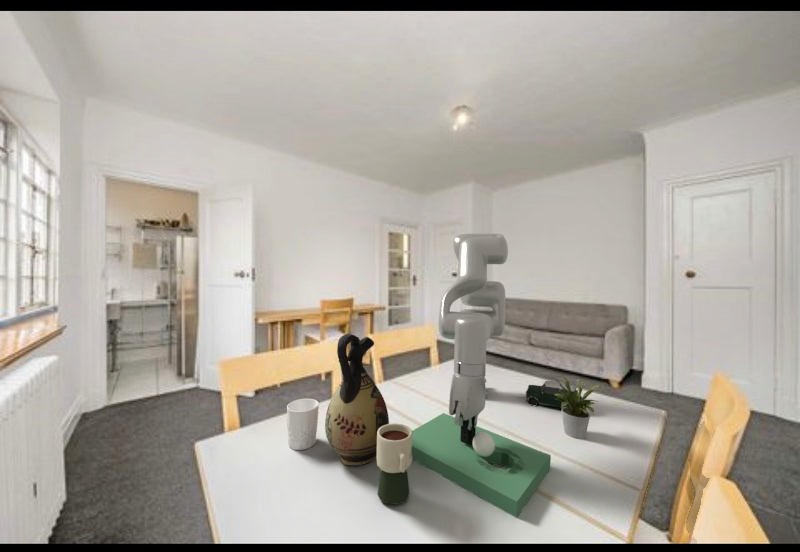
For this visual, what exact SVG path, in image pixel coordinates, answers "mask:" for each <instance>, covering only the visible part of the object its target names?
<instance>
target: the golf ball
mask: <svg viewBox="0 0 800 552" xmlns="http://www.w3.org/2000/svg"><path fill="white" fill-rule="evenodd" d="M473 448H474V450H475V451H476V453H477V454H479V455H480V456H483V457H487V456H490V455H491V454H492V453H493V452H494V449H495V443H494V440H493V438H492V437H491V436H490V435H489V434H488V433H485V432H480V433H477V434H476V435H475V436H474V438H473Z"/></svg>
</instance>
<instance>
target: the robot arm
mask: <svg viewBox="0 0 800 552" xmlns="http://www.w3.org/2000/svg"><path fill="white" fill-rule="evenodd" d="M452 243H453V250H454V251H453V252H454V255H455V257H456V259H457V261H458V265H457V266H458V268H457V279H456V281H455V282H453V283H452V284H451V285H450V286H449V287H448V288H447V289H446V290H445V292H444V293H443V295H442V298H441V301H440V306H439V313H438V315H439V316H438V332H439V334H440V336H441V338H444V339H446V340H454V347H453V349H454V353H453V354H454V357H453V359H454V361H453V375H452V379H451V382H450V383H451V384H450V389H449V390H450V391H449V401H448V403H449V404H448V415H450V416H454V415H455V416H454V417H455V421H454V424H456V425H458V426H461V438H460V440H461V442H463V443H465V444H467V445H470V446H472V445H473V438H474V436H475V435H476V428H475V427H476V426H477V425H478V416H479V415H480V414H481V412H482V411H484V409H485V407H486V397H487V396H488V391H487V389H486V383H487V382H488V380H487V379H486V369H487V368H486V366H487V365H486V364H487V341H489V339H490V337H501V336H503V334H504V332H505V327H506V326H505V325H506V323H505V322H506V320H505V319H506V289H505V286H504V284H503V283H502V282H500V281H494V280H488V265H504V264H505V263H506V262H507V259H508V255H509V248H508V242H507V240H506V238H505V236H504V235H503V234H501V233H464V234H463V233H462V234H458V235H456V236H455V237H454V239H453V242H452ZM458 299H460V300H461V303H462V304H463V305H465V306H468V307H479V308H482V307H483V308H490V309H491V310H490V309H489V310H488V309H475V308H472V309H471V308H470V309H469V308H468V309H466V308H465V309H462V310H459V311H450V309H451V307H452V305H453V303H455V302H456V301H457V300H458Z"/></svg>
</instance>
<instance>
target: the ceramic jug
mask: <svg viewBox="0 0 800 552" xmlns="http://www.w3.org/2000/svg"><path fill="white" fill-rule="evenodd" d="M348 345H350V347H349V348H350V349H349V351H347V348H348ZM374 346H375V341H374V340H373V339H372V338H370V337H368V336H365V337H363V338H361V339H360V337H359V336H356V335H355V334H351V333H345V334H344V335H341V336H340V337H339V339H338V342H337V346H336V347H337V349H336V351H337V352H336V354H337V359H338V363H339V365H340V370H341V374H342V376H343V377H342V380H341V381H340V383H339V384H338V386H337V387H336V389H335V391H334V393H333V395H332V397H331V398H330V400H329V403H328V407H327V410H326V412H325V413H326V414H325V423H324V426H325V428H324V429H325V435H326V439H327V442H328V443H329V446H330V448H332V449H333V450H334V452H335V453H336V454H338V456H339V460H340V462H341V463H342V464H343V465H345V466H361V465H366V464H369V463H371V462H372V461H374V460H375V459H377V431H378V429H379V428H380V427H382V426H383V425H387V424H390V419H389V412H388V408H387V405H386V401H385V399H384V396H383V395H382V393H381V391H380V390H379V388H378V386H377V384H376V382H375V381H374V380H373V379H372V377H371V375H369V374H368V372H367V370H366V368H365V367H364V364H363V358H364V355H366V353H367V351H369V350H370V349H371V348H373V347H374ZM347 352H348V353H347ZM347 354H348V355H347Z"/></svg>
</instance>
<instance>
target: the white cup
mask: <svg viewBox="0 0 800 552" xmlns="http://www.w3.org/2000/svg"><path fill="white" fill-rule="evenodd" d="M319 403H320V402H319V401H318V400H316V399H313V398H299V399H295V400H293V401H291V402H289V403H288V404H287V405H286V420H287V421H286V422H287V436H288V437H287V439H288V446H289V448H290V449H291V450H293V451H302V450H307V449H310V448H312V447H313V446H314V445H315V444H316V441H317V432H318V425H319V424H318V423H319V422H318V420H319V408H320V407H319V406H320V404H319Z"/></svg>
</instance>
